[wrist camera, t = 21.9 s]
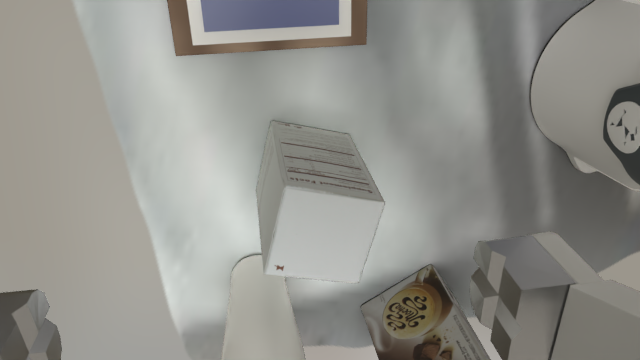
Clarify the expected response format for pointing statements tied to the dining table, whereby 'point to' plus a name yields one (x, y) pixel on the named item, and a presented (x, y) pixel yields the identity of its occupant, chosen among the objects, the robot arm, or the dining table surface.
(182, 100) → the dining table surface
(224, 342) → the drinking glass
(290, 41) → the stamping board
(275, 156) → the supplement box
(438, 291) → the coffee box
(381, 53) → the dining table surface
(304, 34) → the ink pad
